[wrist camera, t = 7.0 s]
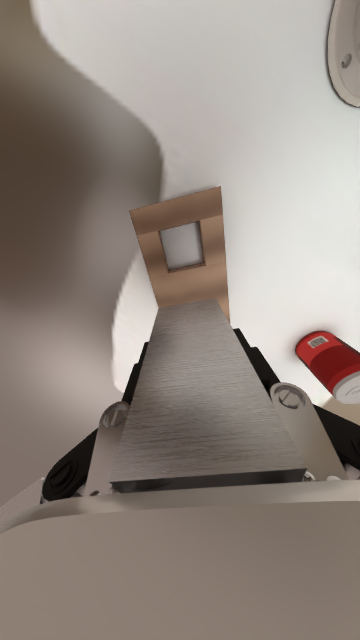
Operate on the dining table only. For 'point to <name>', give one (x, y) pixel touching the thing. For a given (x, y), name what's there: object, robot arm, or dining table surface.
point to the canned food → (332, 365)
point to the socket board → (212, 273)
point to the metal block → (201, 412)
